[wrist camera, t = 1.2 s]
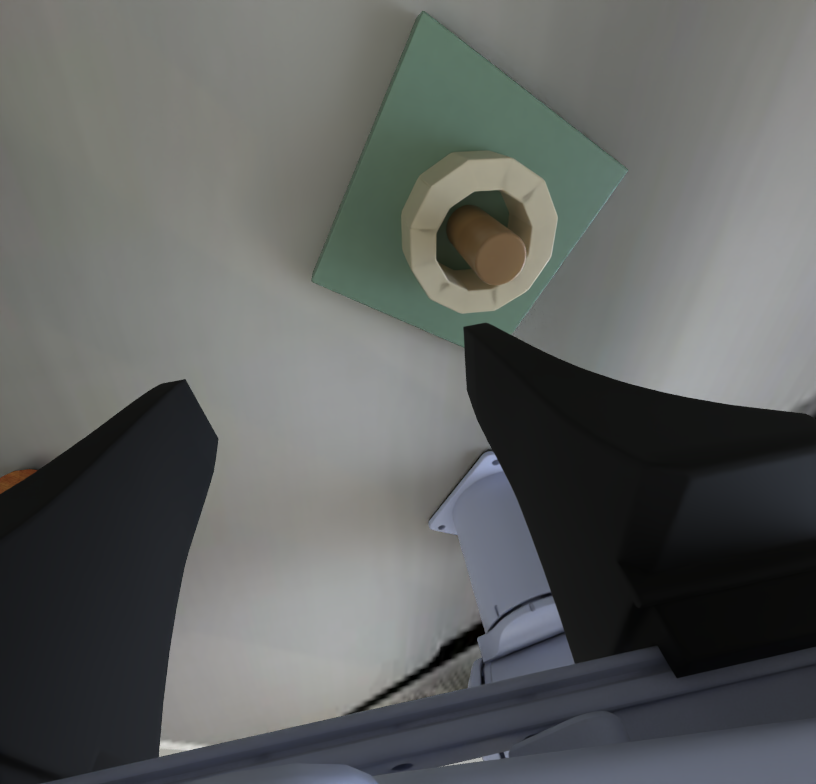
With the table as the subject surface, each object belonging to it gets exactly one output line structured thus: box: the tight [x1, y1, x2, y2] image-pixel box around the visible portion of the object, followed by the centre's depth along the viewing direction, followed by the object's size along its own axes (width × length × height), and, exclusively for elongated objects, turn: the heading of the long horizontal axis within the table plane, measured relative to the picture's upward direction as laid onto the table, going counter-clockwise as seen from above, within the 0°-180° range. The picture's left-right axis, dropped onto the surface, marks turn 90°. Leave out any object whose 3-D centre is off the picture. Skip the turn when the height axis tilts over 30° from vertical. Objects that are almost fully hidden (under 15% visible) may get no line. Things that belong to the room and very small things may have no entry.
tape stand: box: [312, 11, 628, 347], centre depth 16 cm, size 10×10×6 cm
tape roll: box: [401, 150, 558, 314], centre depth 16 cm, size 6×6×2 cm
